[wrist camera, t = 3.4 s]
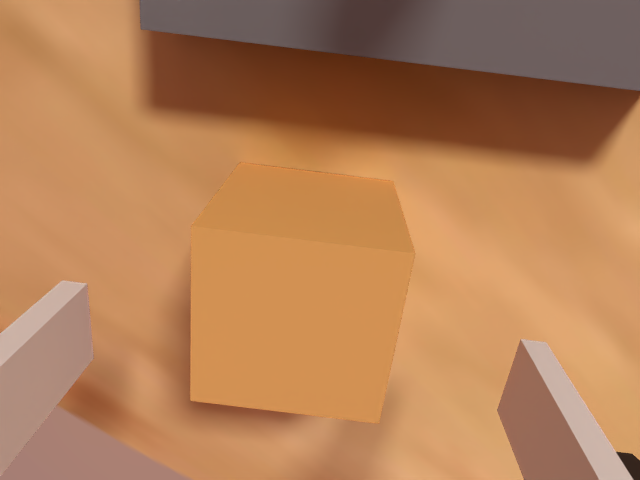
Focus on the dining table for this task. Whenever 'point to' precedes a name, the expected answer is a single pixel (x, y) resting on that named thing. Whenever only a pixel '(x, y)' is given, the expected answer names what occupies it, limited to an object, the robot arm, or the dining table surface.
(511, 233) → the dining table surface
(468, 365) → the dining table surface
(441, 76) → the dining table surface
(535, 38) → the dark gray slab
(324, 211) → the orange toy cube
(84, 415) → the dining table surface
